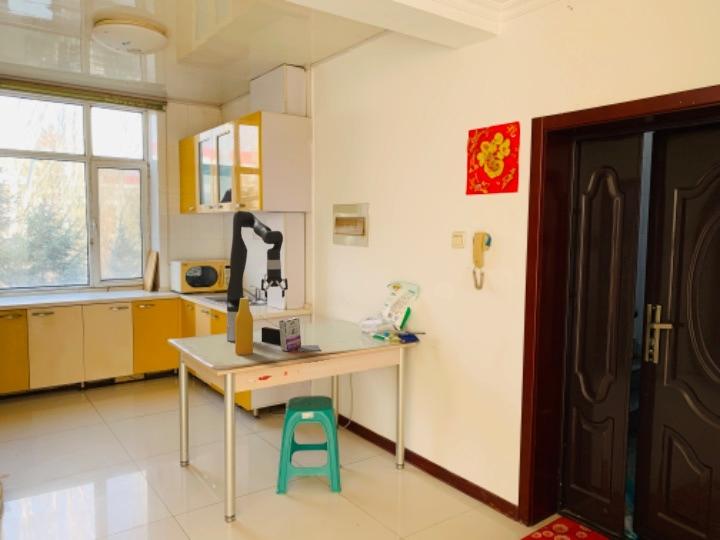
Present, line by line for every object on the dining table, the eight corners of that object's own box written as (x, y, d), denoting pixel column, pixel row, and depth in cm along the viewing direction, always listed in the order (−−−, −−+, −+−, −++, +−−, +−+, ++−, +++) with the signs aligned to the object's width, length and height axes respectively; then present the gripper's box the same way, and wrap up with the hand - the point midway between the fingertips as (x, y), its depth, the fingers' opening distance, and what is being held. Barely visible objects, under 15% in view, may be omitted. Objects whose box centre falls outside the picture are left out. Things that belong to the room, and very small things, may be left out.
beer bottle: (231, 353, 274) (231, 298, 272) (244, 350, 282) (244, 296, 280) (243, 356, 269) (243, 300, 267) (256, 352, 277) (257, 298, 274)
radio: (286, 345, 296) (286, 318, 295) (282, 346, 294) (282, 319, 293) (262, 340, 307) (262, 315, 306) (259, 341, 304) (259, 316, 303)
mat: (298, 351, 281) (298, 350, 281) (296, 346, 292) (296, 345, 292) (320, 351, 283) (320, 349, 283) (317, 346, 295) (317, 345, 295)
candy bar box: (294, 346, 292) (293, 316, 290) (301, 346, 289) (299, 317, 287) (280, 350, 283) (278, 320, 281) (287, 351, 280) (285, 321, 278)
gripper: (260, 269, 278) (261, 299, 279) (287, 268, 280) (288, 298, 282) (260, 267, 285) (261, 297, 286) (287, 267, 288) (287, 296, 289)
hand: (274, 297), depth 284 cm, fingers open, 8 cm apart
